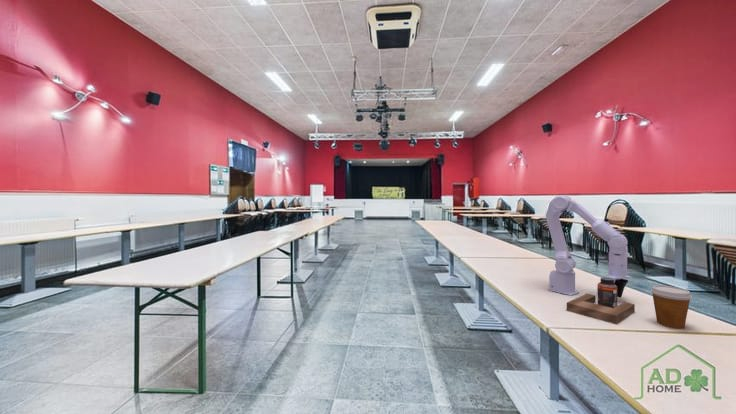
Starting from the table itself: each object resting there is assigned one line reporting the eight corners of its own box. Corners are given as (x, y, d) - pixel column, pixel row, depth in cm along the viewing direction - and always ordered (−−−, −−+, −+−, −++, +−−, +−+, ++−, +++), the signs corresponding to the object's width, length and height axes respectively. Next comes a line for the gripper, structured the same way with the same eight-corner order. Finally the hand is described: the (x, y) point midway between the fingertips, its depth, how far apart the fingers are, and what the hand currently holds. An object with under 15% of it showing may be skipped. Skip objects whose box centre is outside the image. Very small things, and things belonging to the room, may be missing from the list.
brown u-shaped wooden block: (566, 310, 108) (566, 302, 108) (586, 300, 118) (586, 293, 118) (616, 324, 95) (616, 315, 95) (634, 312, 105) (634, 304, 105)
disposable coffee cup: (701, 331, 89) (701, 293, 89) (670, 331, 90) (671, 294, 89) (669, 318, 99) (670, 284, 99) (642, 318, 99) (642, 285, 99)
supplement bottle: (621, 310, 107) (621, 281, 106) (602, 309, 108) (602, 280, 108) (611, 304, 112) (611, 276, 112) (594, 303, 114) (594, 276, 114)
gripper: (624, 268, 108) (623, 303, 109) (636, 263, 116) (636, 295, 116) (601, 265, 114) (601, 298, 115) (614, 260, 122) (614, 291, 122)
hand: (617, 296), depth 116 cm, fingers closed
